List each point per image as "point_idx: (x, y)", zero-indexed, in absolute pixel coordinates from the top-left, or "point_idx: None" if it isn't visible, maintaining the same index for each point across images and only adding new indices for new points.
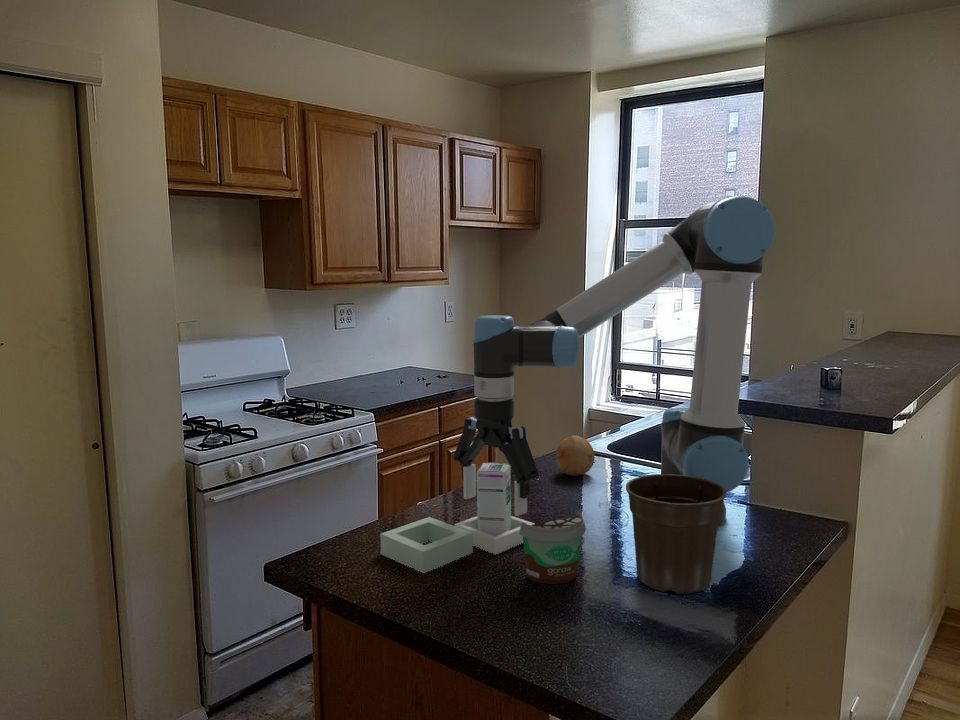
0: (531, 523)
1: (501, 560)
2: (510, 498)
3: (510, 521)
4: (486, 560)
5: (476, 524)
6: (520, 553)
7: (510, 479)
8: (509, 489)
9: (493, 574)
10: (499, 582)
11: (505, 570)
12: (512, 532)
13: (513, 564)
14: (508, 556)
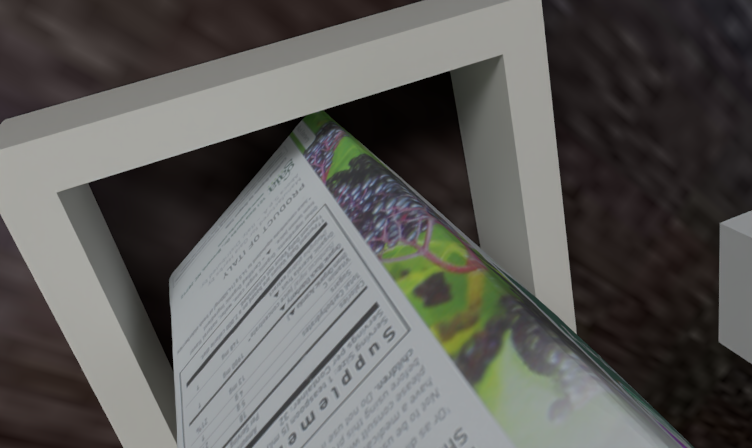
0: (524, 17)
1: (594, 344)
2: (484, 257)
3: (400, 178)
4: None
5: (156, 371)
6: (595, 213)
7: (611, 385)
8: (615, 375)
9: (674, 427)
10: (736, 428)
11: (682, 368)
12: (568, 260)
13: (664, 309)
14: (582, 292)
